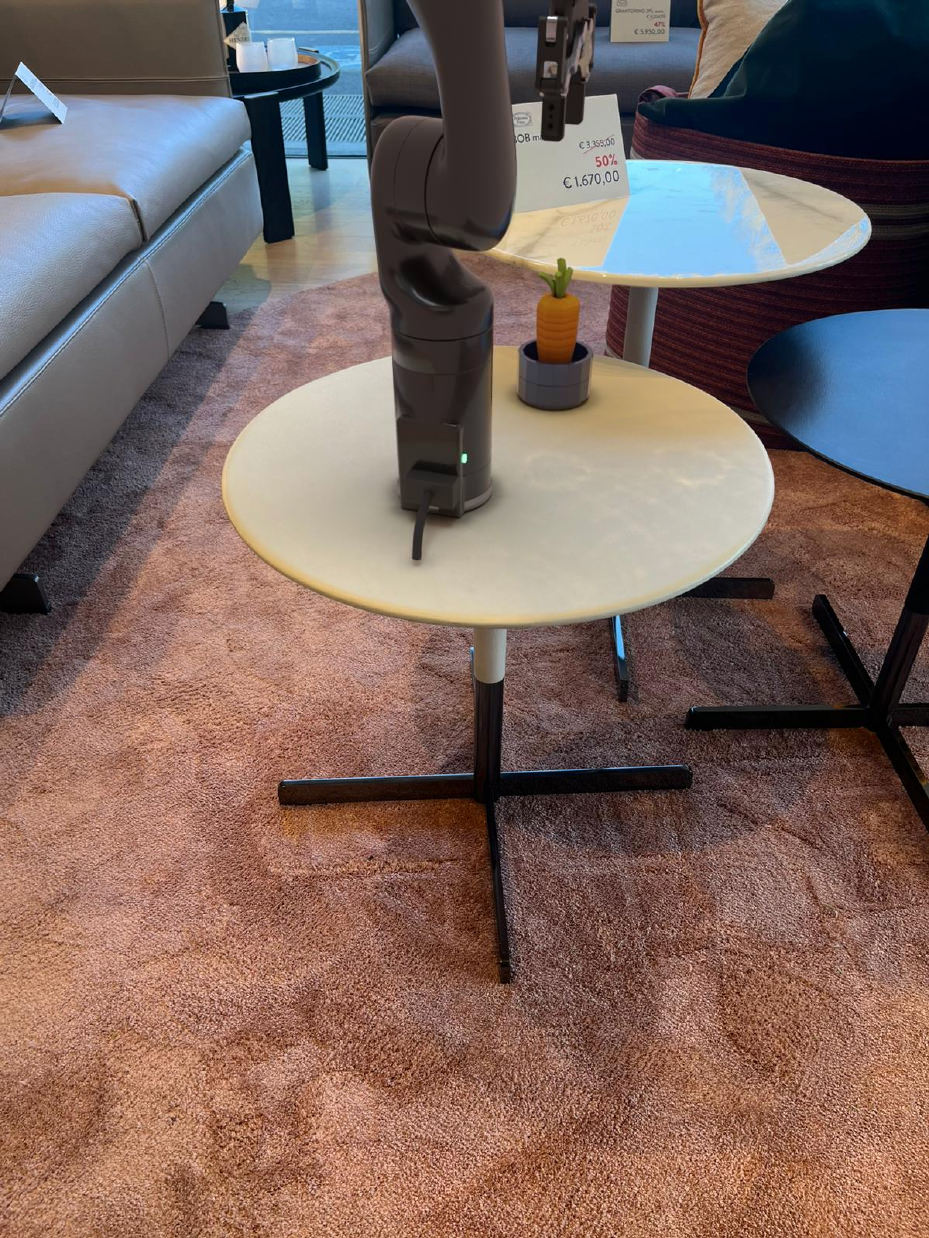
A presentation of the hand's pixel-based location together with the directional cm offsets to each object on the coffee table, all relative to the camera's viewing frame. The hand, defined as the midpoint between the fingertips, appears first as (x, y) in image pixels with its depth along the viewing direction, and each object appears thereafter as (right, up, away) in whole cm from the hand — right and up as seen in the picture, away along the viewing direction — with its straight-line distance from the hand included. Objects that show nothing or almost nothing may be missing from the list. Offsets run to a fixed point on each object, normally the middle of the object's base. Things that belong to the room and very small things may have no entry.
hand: (562, 132), depth 93 cm
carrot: (+1, -22, +17) cm, 28 cm away
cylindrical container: (+1, -23, +17) cm, 28 cm away
